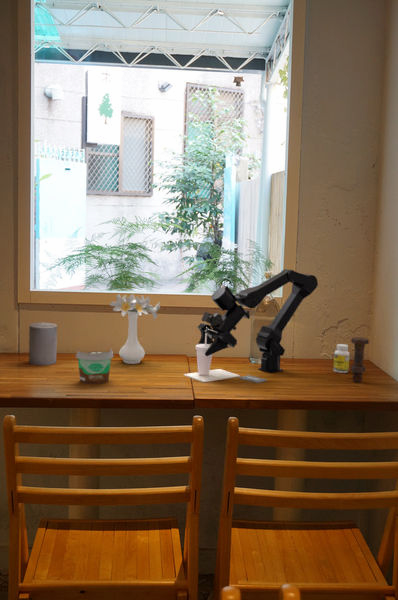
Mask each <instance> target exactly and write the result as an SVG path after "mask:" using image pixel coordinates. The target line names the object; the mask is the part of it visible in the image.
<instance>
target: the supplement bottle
mask: <svg viewBox="0 0 398 600" xmlns="http://www.w3.org/2000/svg"><path fill="white" fill-rule="evenodd" d="M348 350H349V345H348V344H346V343H345V344H344V343H338V344H336V350H335V351H334V352H333V353H334V354H333V366H332V370H333V372H335V373H340V374H346V373H348V372H349V368H350V367H349V366H350V352H349V351H348Z"/></svg>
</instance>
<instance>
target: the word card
mask: <svg viewBox="0 0 398 600" xmlns="http://www.w3.org/2000/svg"><path fill="white" fill-rule="evenodd" d="M238 378H239V380H243V381H248V382H251V383H256V384H261V383H264V382H267V381H268V379H265V378H262V377H258V376H253V375H250V374H249V375H244V376H240V377H238Z"/></svg>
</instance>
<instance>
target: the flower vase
mask: <svg viewBox="0 0 398 600" xmlns="http://www.w3.org/2000/svg"><path fill="white" fill-rule="evenodd" d="M115 300H116V301H112V302H110V303H109V306H111V307H113V309H112V312H120V311H121V316H122V317H126V315H127V317H128V333H127V337H126V338H127V339H126V342H125V343H124V345H122V347H121V348H120V350H119V353H118V354H119V356H120V358H121V359H122V360H123V363H125V364H129V365H130V364H131V365H136V364H140V363H141V360H142V359H143V358H144V357H145V355H146V353H145V350H144V348H143V346H142V345H141V344H140V342H139V339H138V318H139V316H140V317H141V316H142V314H144V315H149V313H150V314H152V318H153V320H155V319H158V313H157V312H158V311H159V310H160V309H161V305H160V304H161V301H159V302H158V303H157V304H156V305H155V306H153V305H152V304H150V302H151V299H150V297H149V296H147V297H146V298H145V297H144V295H142V294H141V298H140V297H139V296H135V294H133V293H132V294H131V295H129V296H127V294H125V295H123V296H122V297H121V294H119V293H118V294H117V295H116V299H115Z"/></svg>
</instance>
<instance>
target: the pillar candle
mask: <svg viewBox="0 0 398 600" xmlns="http://www.w3.org/2000/svg"><path fill="white" fill-rule="evenodd" d="M28 326H29V327H28V328H29V329H28V331H29V332H28V334H29V335H28V336H29V338H28V339H29V341H28V347H29V348H28V364H31V365H34V366H50V365H54V364H56V363H57V341H58V340H57V336H58V335H57V334H58V333H57V332H58V331H57V330H58V329H57V328H58V325H57V324H56V323H52V322H50V323H49V322H34V323H30V324H29V325H28Z"/></svg>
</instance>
